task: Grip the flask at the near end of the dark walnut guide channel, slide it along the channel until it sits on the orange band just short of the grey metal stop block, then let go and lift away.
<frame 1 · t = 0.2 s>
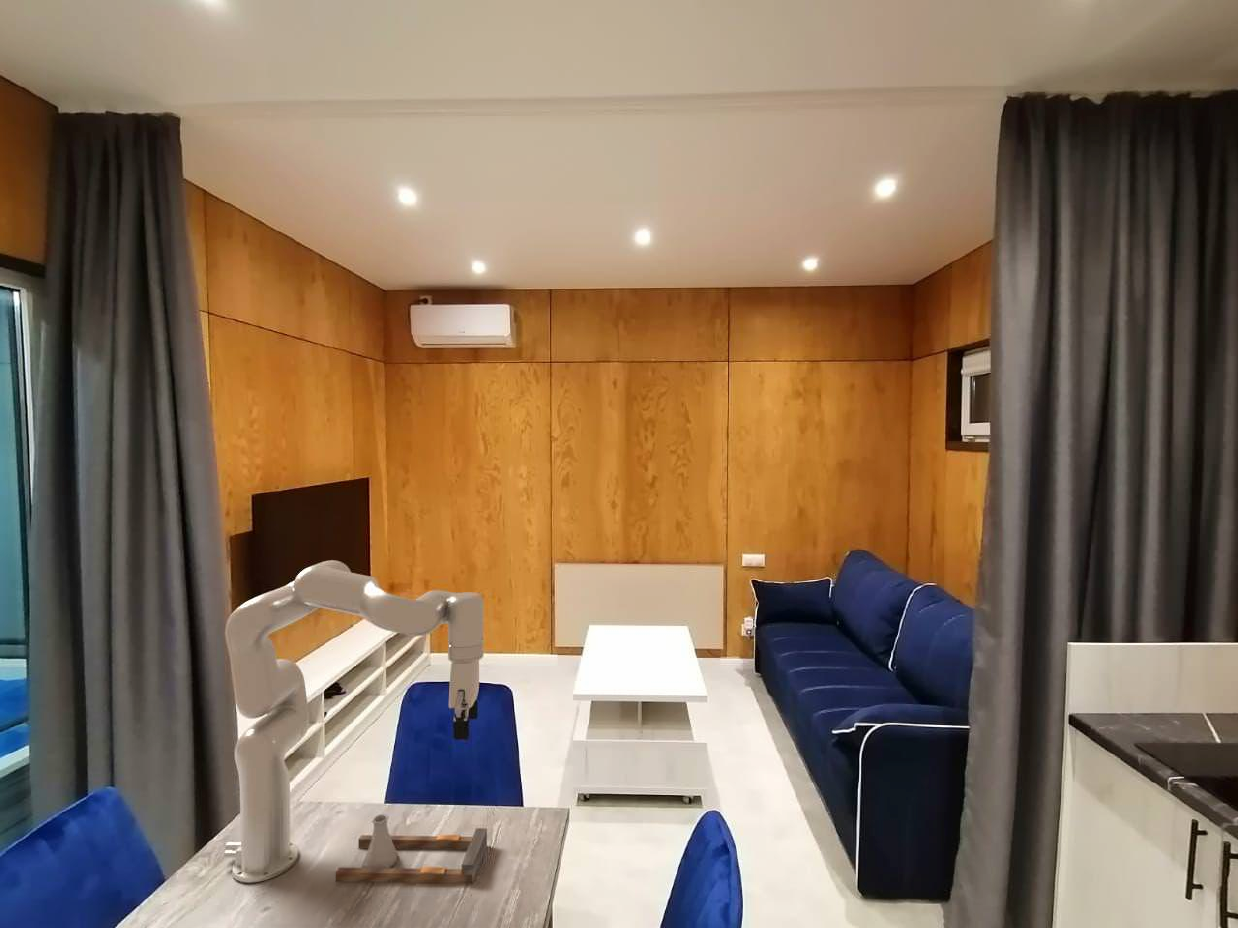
hand: (465, 728, 133), 31 cm above the table, tool pointing down, fingers open, 9 cm apart
guide channel: (414, 862, 135), on the table
flask: (380, 863, 135), resting in guide channel
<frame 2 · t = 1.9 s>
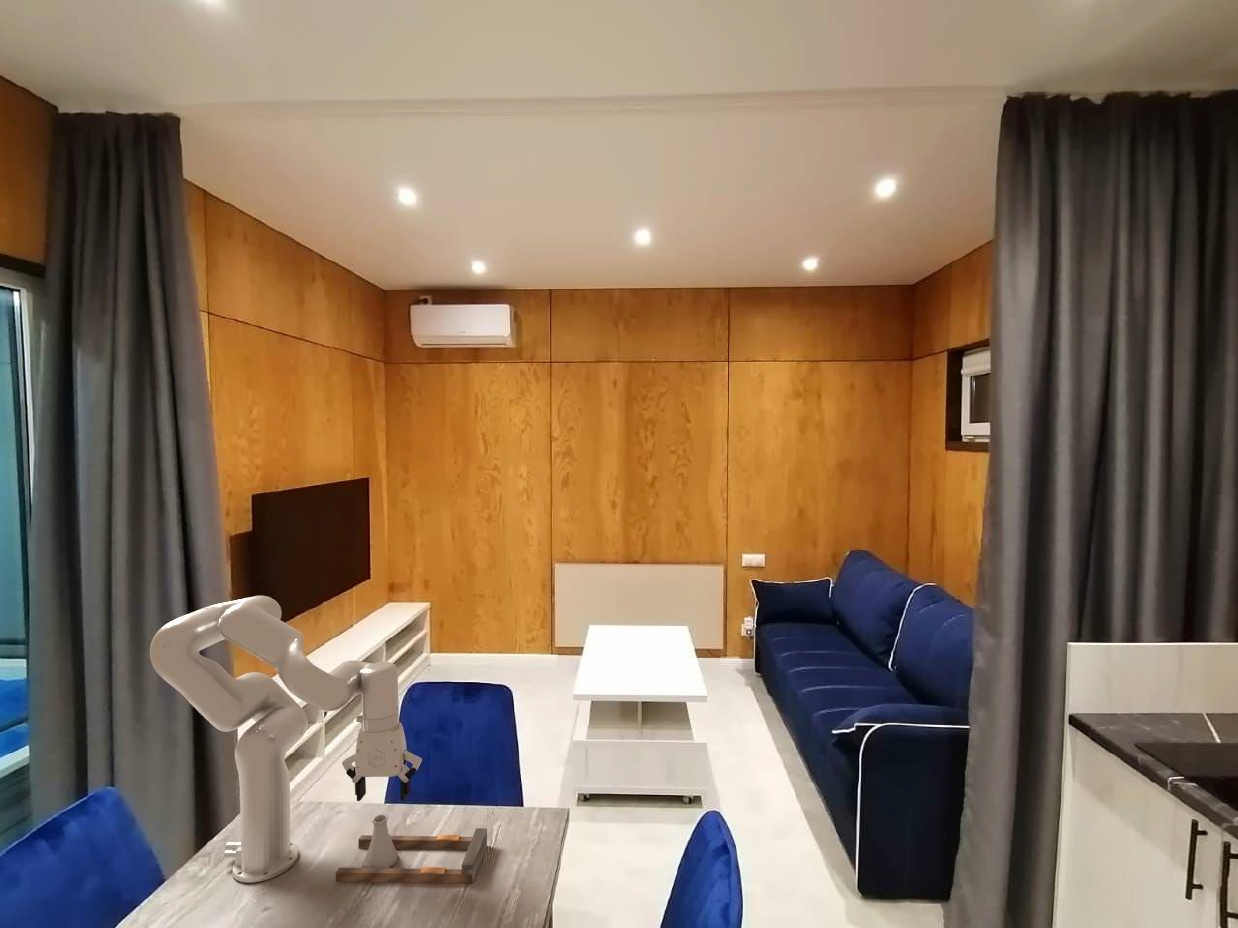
hand: (383, 797, 135), 15 cm above the table, tool pointing down, fingers open, 9 cm apart
nothing on the table moved.
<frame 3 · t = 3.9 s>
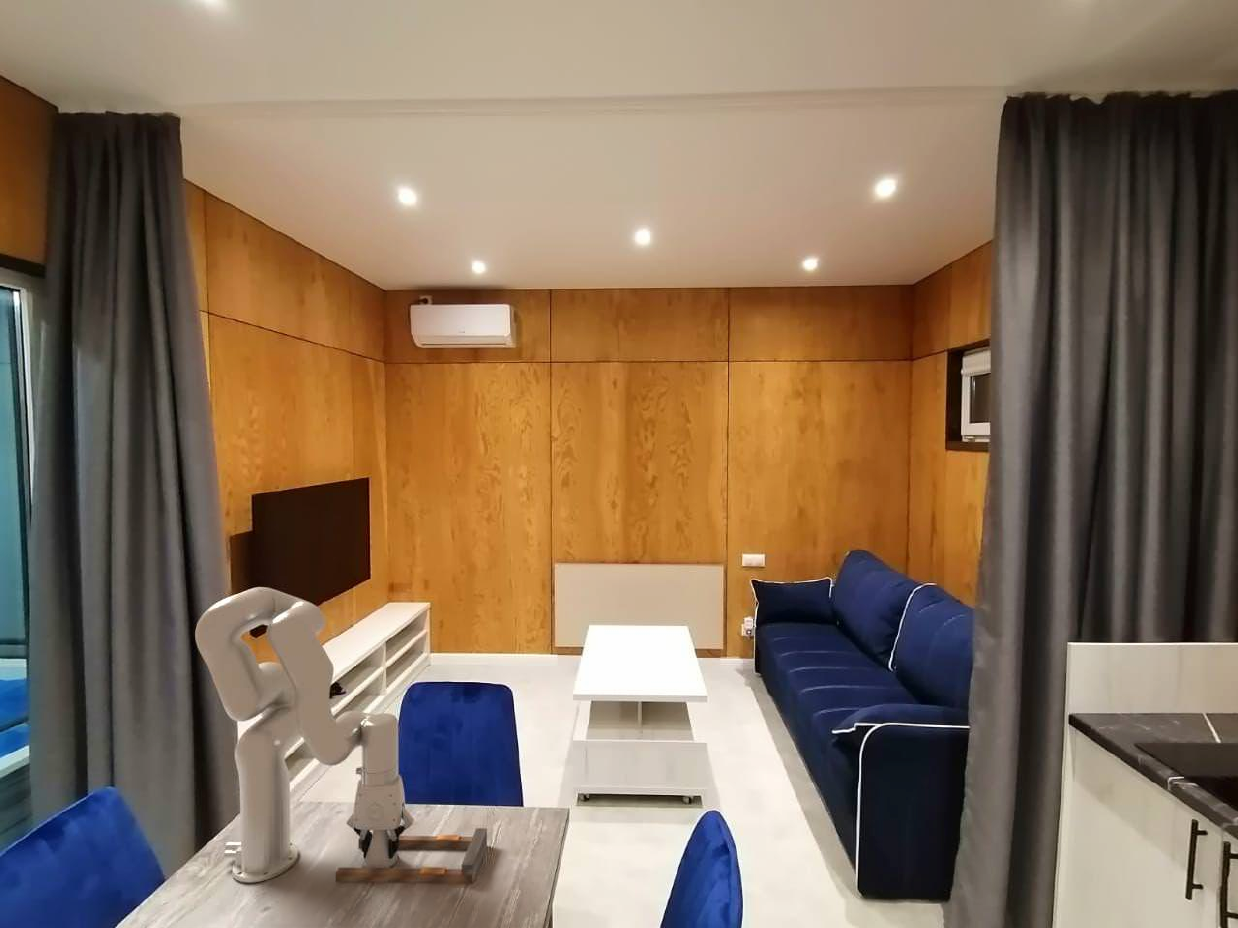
hand: (380, 853, 135), 2 cm above the table, tool pointing down, fingers closed on flask, 4 cm apart
flask: (380, 863, 135), resting in guide channel, touching gripper
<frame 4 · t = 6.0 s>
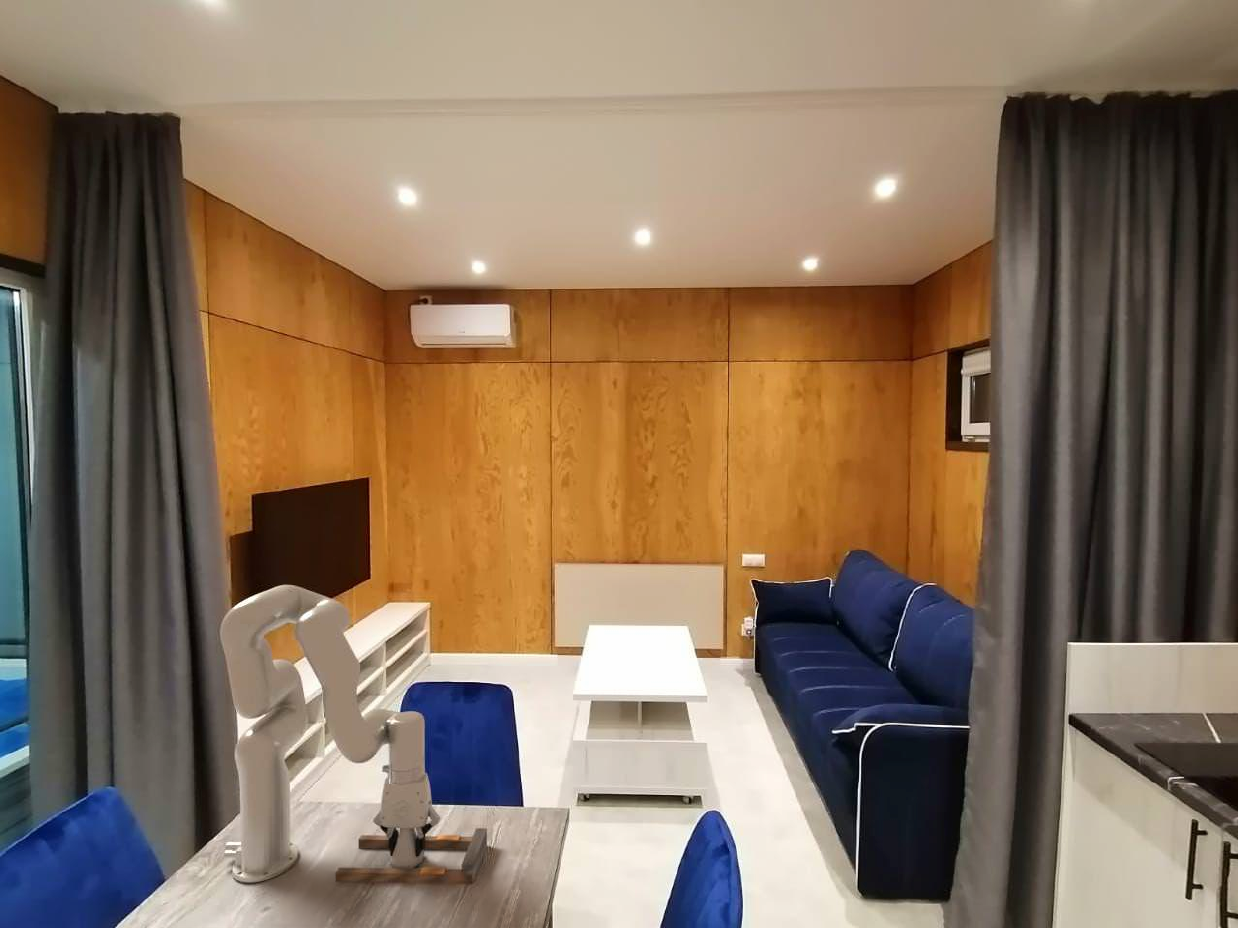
hand: (407, 851, 135), 2 cm above the table, tool pointing down, fingers closed on flask, 4 cm apart
flask: (407, 861, 135), resting in guide channel, touching gripper
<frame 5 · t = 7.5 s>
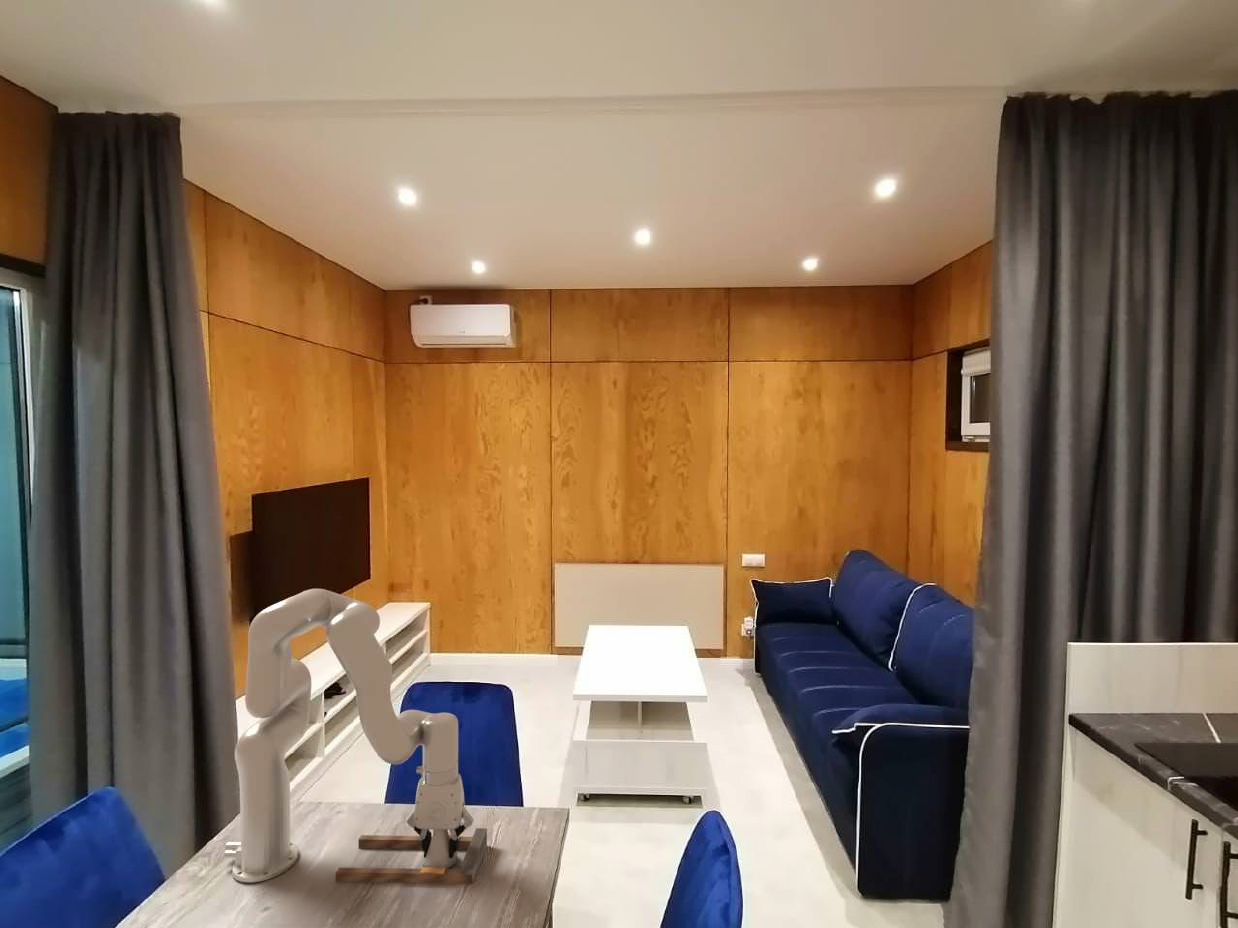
hand: (440, 852, 135), 2 cm above the table, tool pointing down, fingers closed on flask, 4 cm apart
flask: (440, 862, 135), resting in guide channel, touching gripper
when the fingers open (2 cm above the table, at t = 8.4 s): flask stays where it is, resting in guide channel.
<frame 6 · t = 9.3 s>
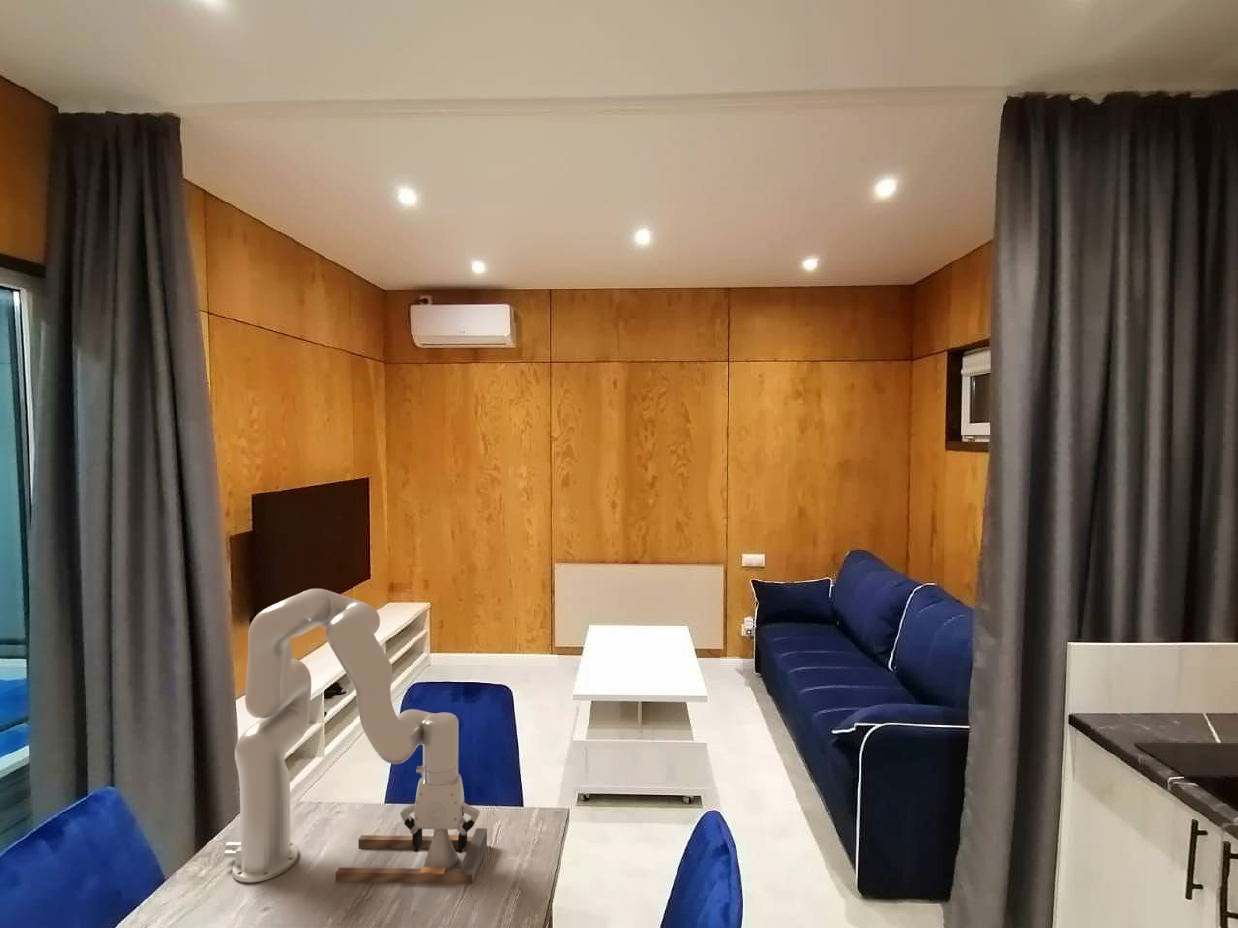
hand: (439, 848, 135), 3 cm above the table, tool pointing down, fingers open, 9 cm apart
flask: (440, 864, 135), resting in guide channel
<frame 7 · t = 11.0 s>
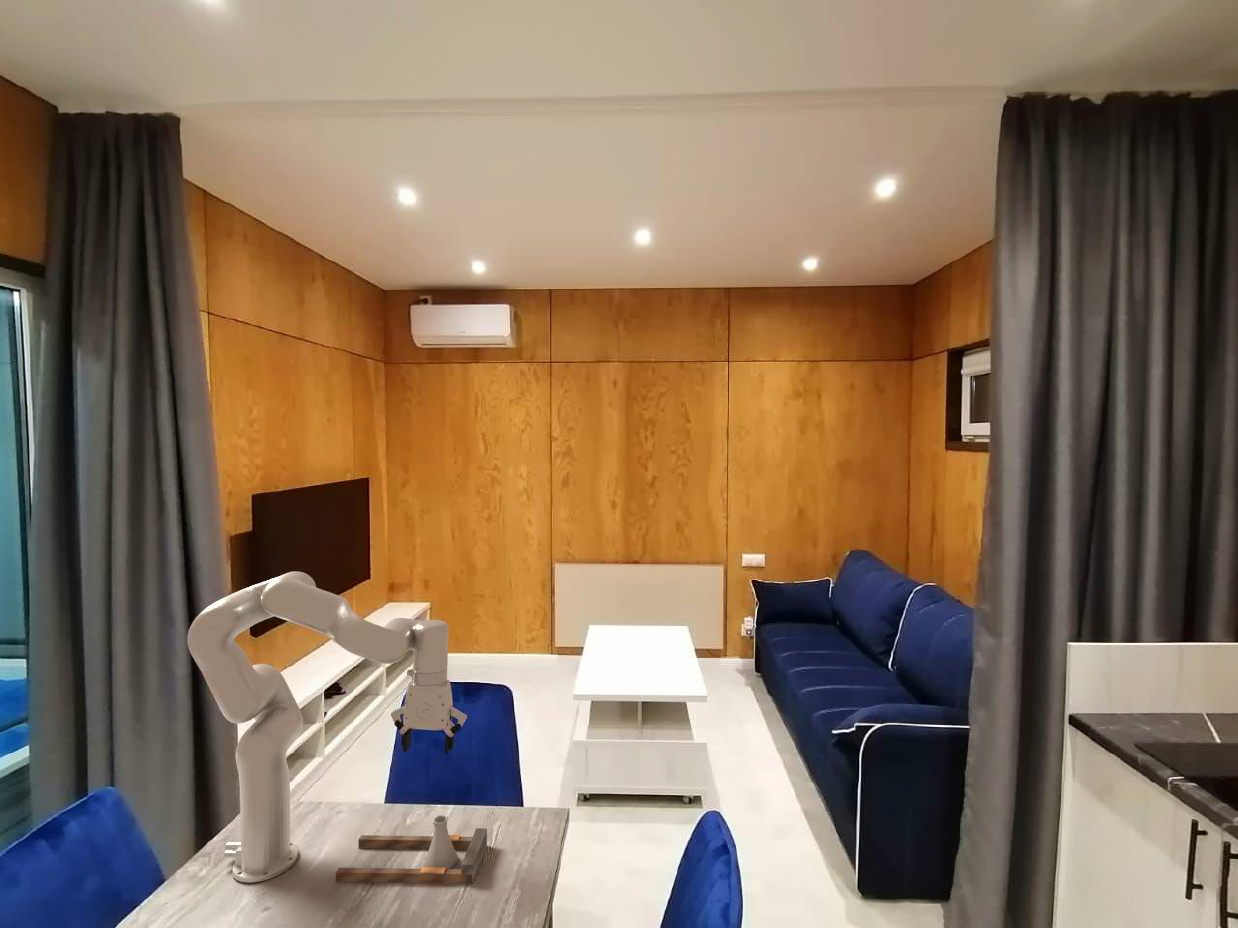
hand: (427, 750, 139), 23 cm above the table, tool pointing down, fingers open, 9 cm apart
nothing on the table moved.
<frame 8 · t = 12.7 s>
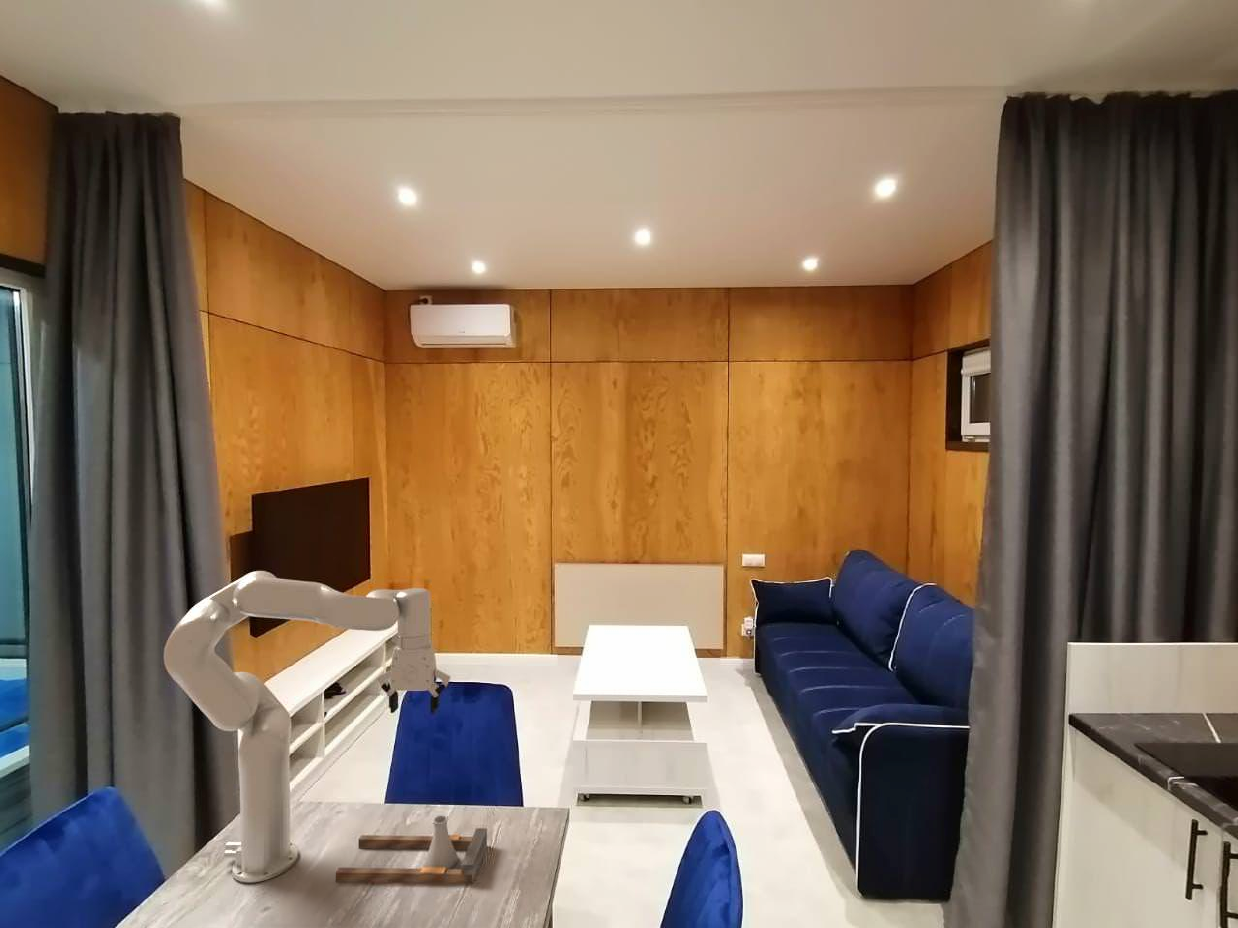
hand: (414, 710, 148), 28 cm above the table, tool pointing down, fingers open, 9 cm apart
nothing on the table moved.
at the end: flask 0.1 cm from the target spot, resting in guide channel; flask tilted 0°; the gripper is holding nothing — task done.
